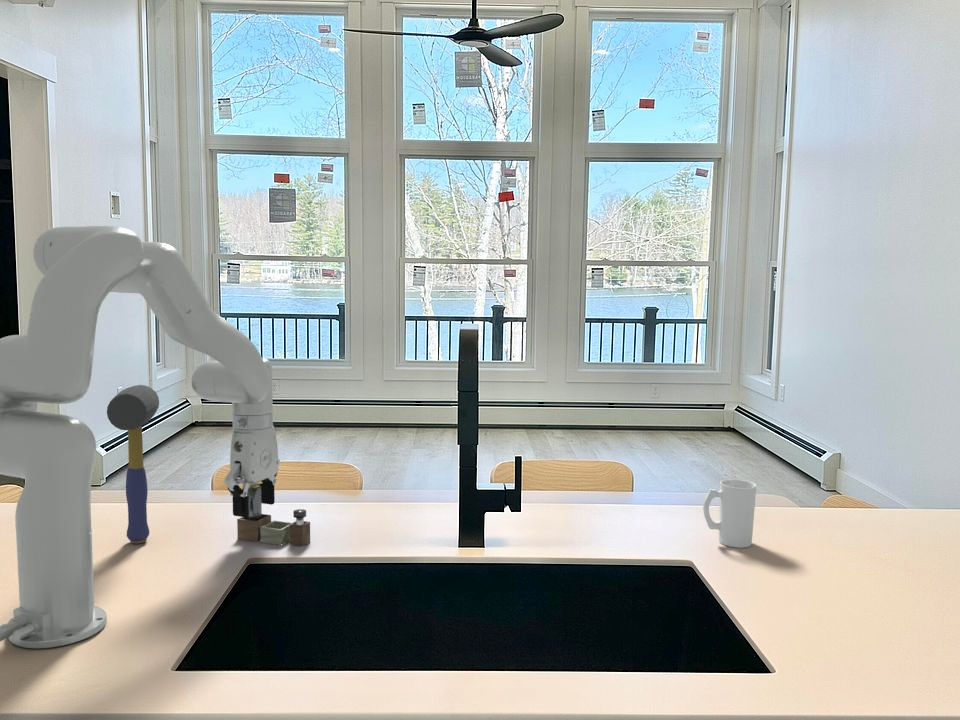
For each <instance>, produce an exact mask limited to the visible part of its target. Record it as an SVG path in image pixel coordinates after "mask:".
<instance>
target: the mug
mask: <svg viewBox="0 0 960 720" xmlns="http://www.w3.org/2000/svg"><path fill="white" fill-rule="evenodd" d="M719 484H720V486H719V490H717V489H716V488H715V489H713V488H709V490H708V493H707V494H706V497H705V499H704V502H703V515H704V518H705V522H706V524H707V527H708V528H709V530H716V531H717V530H718V542H719V543H720V544H721V545H723V546H726V547H730V548H738V549H743V548H744V549H745V548H749V547H751V545H752V542H753V533H754V532H753V531H754V522H755V521H754V520H755V506H756V494H757V484H756V483H755V482H751V481H748V480H743V479H732V478H731V479H730V478H729V479H724V480H720V482H719ZM715 498H719V506H718V507H719V510H718V513H719V514H718V516H719V519H718V521H714V520H712V517H711V515H710V504H711V501H712V500H714V499H715Z"/></svg>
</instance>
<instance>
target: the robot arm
mask: <svg viewBox="0 0 960 720" xmlns="http://www.w3.org/2000/svg"><path fill="white" fill-rule="evenodd" d="M32 251H33V252H32V253H33V254H32V256H33V262H34V263H35V266H36V268H37V269H38V270H39V272H40V273H41V274H42V275H43V276H42V278H41V279H40V281H39V283H38V284H37V286H36V289H35V292H34V294H33V298H32V301H31V307H30V314H29V319H28V326H27V330H26V331H27V332H26V334H12V335H8V336H4V337H1V338H0V475H1V476H7V477H13V478H18V479H19V478H20V479H23V480H25V481H24V486H23V489H22V491H21V494H20V496H19V497H18V501H17V504H16V507H15V508H16V509H15V513H14V516H15V518H14V519H15V523H14V524H15V525H14V526H15V534H16V535H15V537H16V557H17V574H18V575H17V576H18V594H19V595H18V596H19V598H18V600H19V607H17V608H14V609H13V612H12V613H13V615H12V616H13V617H12V618H10V619H9V620H8V622H7V623H5V624H4V623H3V624H1V625H0V642H2V641H4V640H6V639H8V640H9V641H10V643H12V644H14V646H18V647H20V648H25V649H49V648H57V647H62V646H63V647H64V646H66V645H71V644H74V643H77V642H80V641H84V640H86V639H87V638H90V637H92V636H94V635H95V634H98V632H100V631H101V630H102V629H103V628H105V626H106V624H107V620H108V618H107V617H108V615H107V612H106V611H105V609H103V608H102V607H100V606H96V605H95V589H94V588H95V585H94V563H93V561H94V559H93V558H94V557H93V556H94V555H93V536H92V535H93V534H92V533H93V531H92V513H91V512H92V509H91V508H92V505H91V503H92V502H91V491H92V480H93V472H94V467H95V462H96V456H97V441H96V438H95V435H94V433H93V431H92V430H91V428H90V427H89V426H88V425H87V424H85V422H83V421H82V420H80V419H78V418H75V417H73V416H70V415H65V414H61V413H51V412H43V411H37V408H38V403H39V404H40V403H42V404H51V405H65V404H67V405H68V404H71V403H72V404H73V403H75V402H77V401H79V400H81V399H82V398H84V396H85V395H86V394H87V392H88V391H89V388H90V385H91V379H92V371H93V362H94V354H95V353H94V352H95V350H94V349H95V343H96V342H95V341H96V330H97V323H98V317H99V316H98V315H99V312H100V308H101V306H102V304H103V302H104V300H105V299H106V297H107V296H108V295H109V294H110V293H121V294H122V293H123V294H125V293H126V294H139V295H141V296H142V297H143V299H144V300H145V301H146V303H147V305H148V306H149V308H150V310H151V311H152V313H153V314H154V316H155V317H156V319H157V320H158V322H159V324H160V326H161V327H162V329H163V330H164V332H165V333H166V335H167V336H168V337H169V338H171V339H172V340H174V341H176V342H177V343H179V344H181V345H183V346H185V347H188V348H190V349H192V350H194V351H197V352H199V353H202V354H204V355H207V356H209V357H211V358H212V359H213V360H208V361H205V362H203V363H201V364H200V365H199V366H197V367H196V368H195V370H194V371H193V374H192V376H191V387H192V389H193V391H194V393H195V394H196V395H197V396H198V397H200V398H201V399H203V400H205V401H211V402H218V403H220V402H221V403H231V405H232V406H231V409H232V410H231V411H232V413H231V414H232V435H231V442H230V456H229V457H230V459H229V465H230V466H229V472H228V474H227V475H226V476H225V477H224V483H225V485H226V487H227V490H228V492H229V494H230V496H231V497H232V515H233V516H234V517H239V518H241V517H248V516H249V498H248V496H247V491H248V488H249V485H250V484H255V483H258V484H259V486H261V503H262V504H263V505H271V506H272V505H274V504H275V498H276V497H275V484H276V482H277V475H278V472H279V467H280V465H281V464H280V463H281V460H280V458H279V449H278V441H277V434H276V429H275V425H274V418H273V417H274V413H273V411H274V410H273V409H274V407H273V365H272V363H271V361H270V359H267V358H265V357H262V355H261V353H260V351H259V350H258V348H257V347H256V345H255V344H254V343H253V342H252V340H251V339H249V337H247V336H246V335H245V334H244V333H243V332H242V331H240V330H239V329H237V327H235V326H234V325H233V324H231V323H230V322H229V321H228V320H226V319H225V318H224V317H222V316H221V315H219V314H218V313H216V312H215V311H214V309H212V307H211V305H210V303H209V301H208V300H207V298H206V296H205V295H204V293H203V292H202V290H201V288H200V286H199V285H198V282H197V281H196V279H195V277H194V275H193V273H192V272H191V271H190V268H189V267H188V265H187V263H186V261H185V260H184V258H183V256H182V255H181V253H180V252H179V251H178V250H177V249H176V248H175V247H173V246H172V245H170V244H167V243H164V242H156V241H142V240H141V238H140V237H139V235H137V234H136V233H135V232H134V231H132V230H130V229H127V228H125V227H119V226H112V225H109V226H108V225H88V226H87V225H86V226H60V227H59V226H58V227H57V226H56V227H52V228H50V229H47V230H45V231H43V232H42V233H41V234H40V235H39V236H38V237H37V239H36V241H35V243H34V245H33V250H32ZM240 485H242V487H241V486H240Z"/></svg>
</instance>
